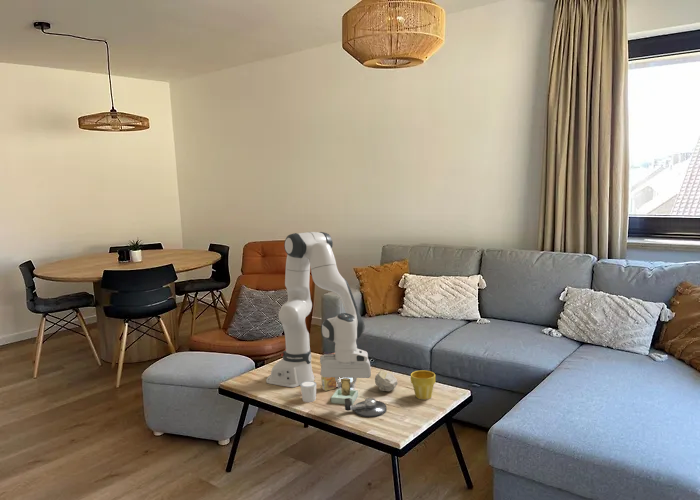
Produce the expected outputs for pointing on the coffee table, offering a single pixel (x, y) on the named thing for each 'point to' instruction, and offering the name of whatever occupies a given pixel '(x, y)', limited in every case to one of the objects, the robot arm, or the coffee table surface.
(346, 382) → the pin
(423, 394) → the plant pot
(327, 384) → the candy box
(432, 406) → the coffee table surface
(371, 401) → the crank
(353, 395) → the tray
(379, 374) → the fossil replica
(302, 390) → the white cylinder
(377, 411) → the base
